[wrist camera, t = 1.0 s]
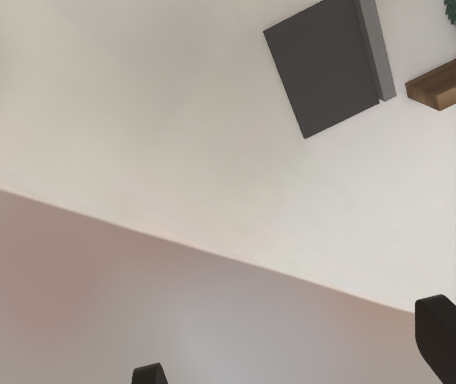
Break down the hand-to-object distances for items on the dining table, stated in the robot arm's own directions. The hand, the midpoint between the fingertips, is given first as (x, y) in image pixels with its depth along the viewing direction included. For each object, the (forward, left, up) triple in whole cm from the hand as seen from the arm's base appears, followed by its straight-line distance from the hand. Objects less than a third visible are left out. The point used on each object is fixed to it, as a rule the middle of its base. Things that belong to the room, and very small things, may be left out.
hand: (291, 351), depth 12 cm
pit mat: (+1, +11, -27) cm, 30 cm away
